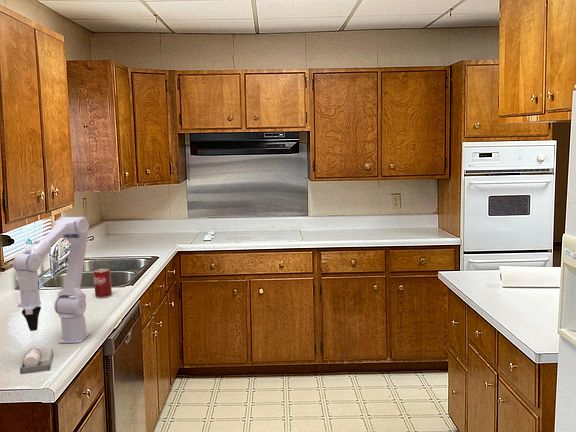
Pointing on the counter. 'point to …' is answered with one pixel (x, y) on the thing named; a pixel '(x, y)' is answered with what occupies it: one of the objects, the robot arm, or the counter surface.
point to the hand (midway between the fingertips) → (33, 330)
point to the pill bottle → (32, 357)
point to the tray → (40, 367)
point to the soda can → (102, 283)
